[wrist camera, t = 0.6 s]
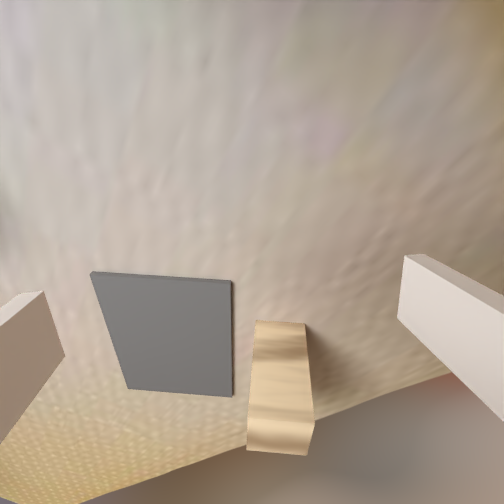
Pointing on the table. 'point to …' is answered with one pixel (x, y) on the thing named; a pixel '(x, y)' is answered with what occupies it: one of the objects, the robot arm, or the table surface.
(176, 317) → the mat
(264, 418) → the beech block
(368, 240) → the table surface
